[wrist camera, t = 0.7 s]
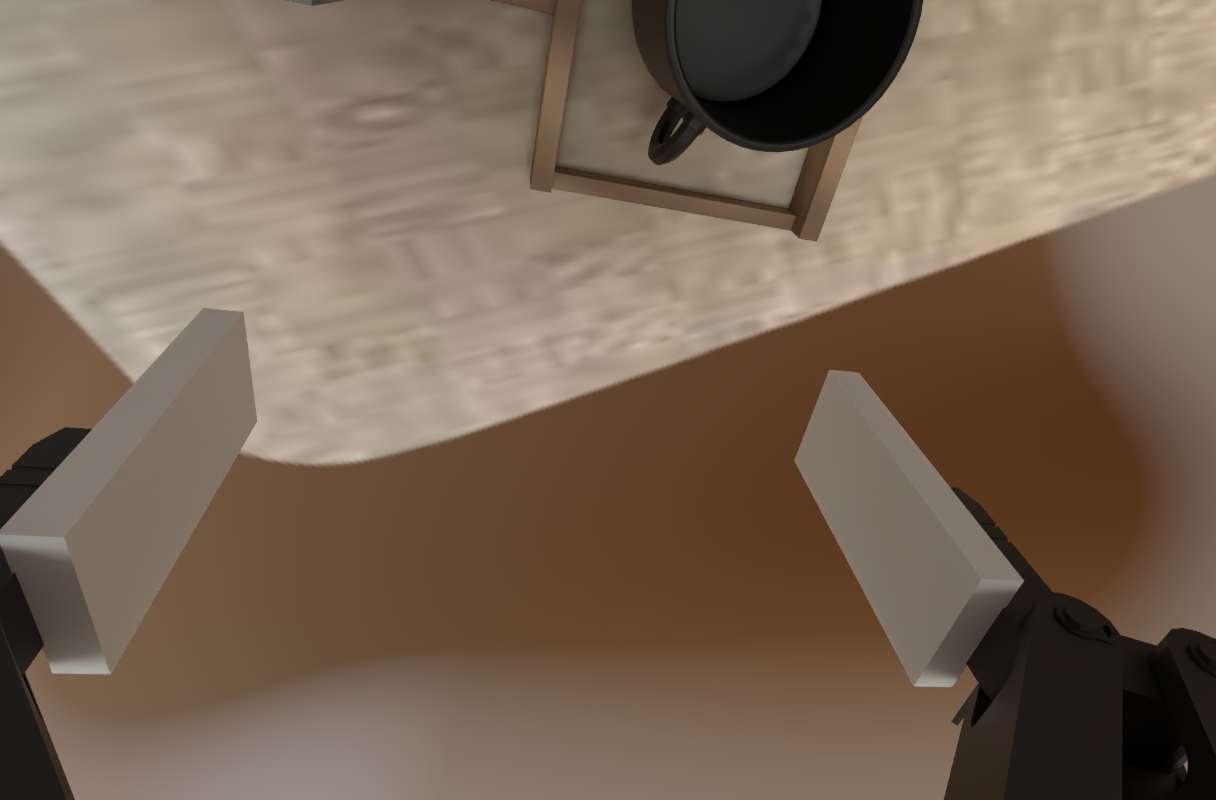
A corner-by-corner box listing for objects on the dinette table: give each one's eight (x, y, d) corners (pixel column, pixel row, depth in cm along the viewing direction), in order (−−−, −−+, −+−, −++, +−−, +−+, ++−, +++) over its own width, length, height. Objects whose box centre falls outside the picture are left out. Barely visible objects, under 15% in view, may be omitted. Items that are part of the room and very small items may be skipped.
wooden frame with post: (305, -335, 25) (156, -543, 15) (930, -146, 30) (1140, -205, 20) (312, 139, 33) (220, 215, 23) (800, 226, 38) (901, 319, 28)
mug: (559, 80, 33) (570, 113, 25) (721, -180, 28) (794, -234, 21) (707, 192, 37) (755, 251, 29) (872, -23, 32) (980, -20, 24)
